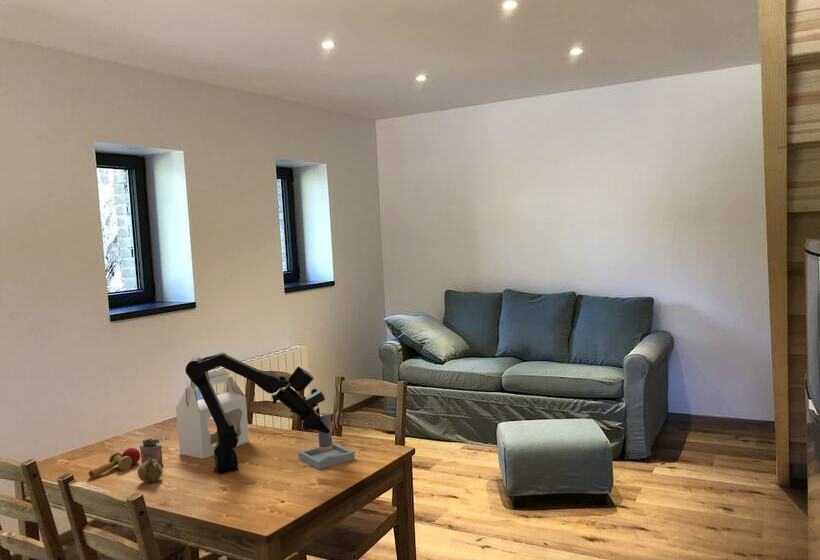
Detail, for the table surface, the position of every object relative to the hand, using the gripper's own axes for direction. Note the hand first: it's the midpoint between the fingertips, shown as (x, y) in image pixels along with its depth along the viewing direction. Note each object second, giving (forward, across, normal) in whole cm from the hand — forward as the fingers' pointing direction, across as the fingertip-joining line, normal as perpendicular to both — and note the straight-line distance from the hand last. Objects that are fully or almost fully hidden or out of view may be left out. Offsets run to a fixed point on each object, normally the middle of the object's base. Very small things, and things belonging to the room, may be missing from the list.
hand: (328, 430), depth 230 cm
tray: (+6, 0, +8) cm, 10 cm away
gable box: (-22, +27, +37) cm, 51 cm away
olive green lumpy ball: (-34, -3, +48) cm, 59 cm away
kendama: (-44, +12, +59) cm, 75 cm away
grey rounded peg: (+4, 0, +6) cm, 7 cm away
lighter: (-36, +11, +50) cm, 63 cm away
